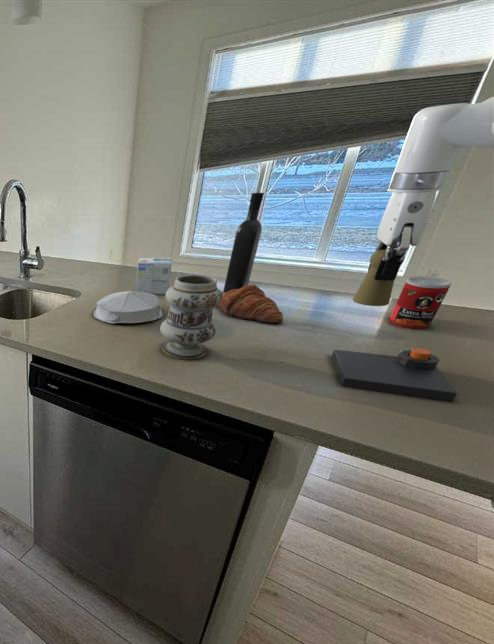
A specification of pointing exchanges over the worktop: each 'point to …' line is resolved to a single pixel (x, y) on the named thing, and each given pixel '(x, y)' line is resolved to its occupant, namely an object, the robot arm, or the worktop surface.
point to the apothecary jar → (190, 315)
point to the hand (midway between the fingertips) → (380, 275)
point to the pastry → (250, 305)
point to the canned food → (419, 302)
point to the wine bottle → (245, 247)
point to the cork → (374, 285)
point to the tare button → (420, 354)
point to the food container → (128, 307)
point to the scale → (393, 374)
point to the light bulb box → (153, 275)
